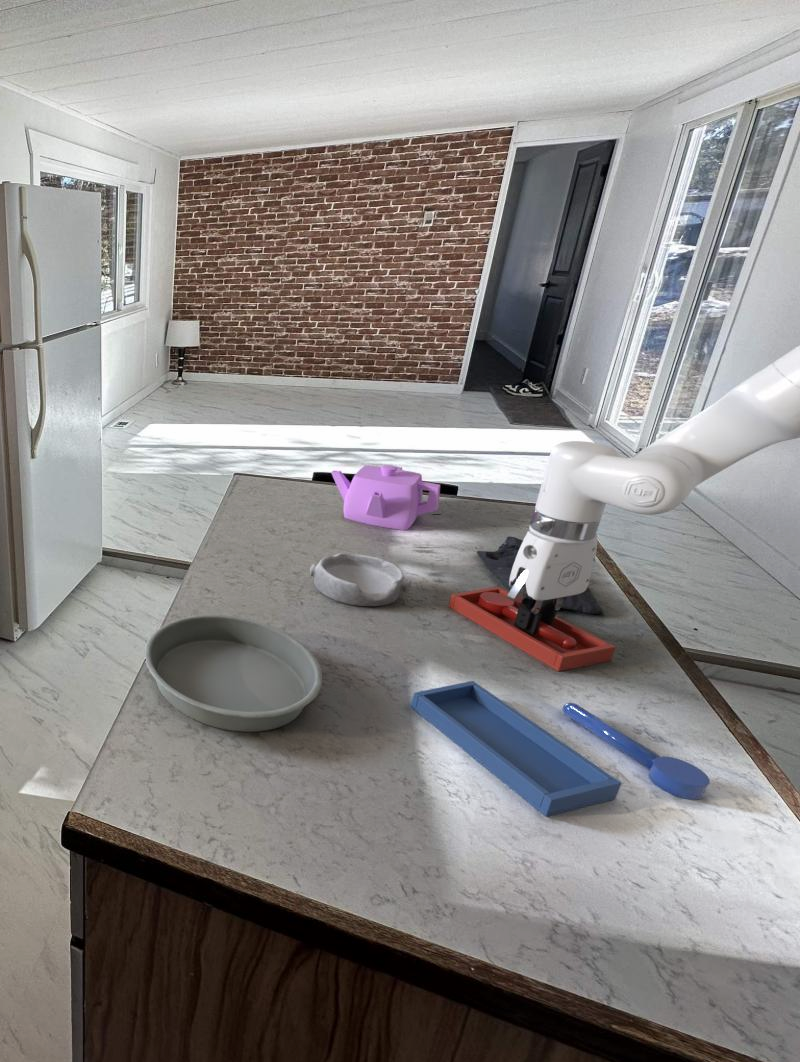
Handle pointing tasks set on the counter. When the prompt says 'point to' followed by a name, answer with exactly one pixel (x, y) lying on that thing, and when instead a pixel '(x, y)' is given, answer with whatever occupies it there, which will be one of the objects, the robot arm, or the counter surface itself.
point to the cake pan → (232, 671)
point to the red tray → (535, 645)
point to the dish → (359, 579)
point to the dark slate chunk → (502, 568)
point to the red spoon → (505, 607)
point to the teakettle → (386, 496)
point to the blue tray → (515, 749)
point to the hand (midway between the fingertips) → (531, 628)
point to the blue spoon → (646, 757)
